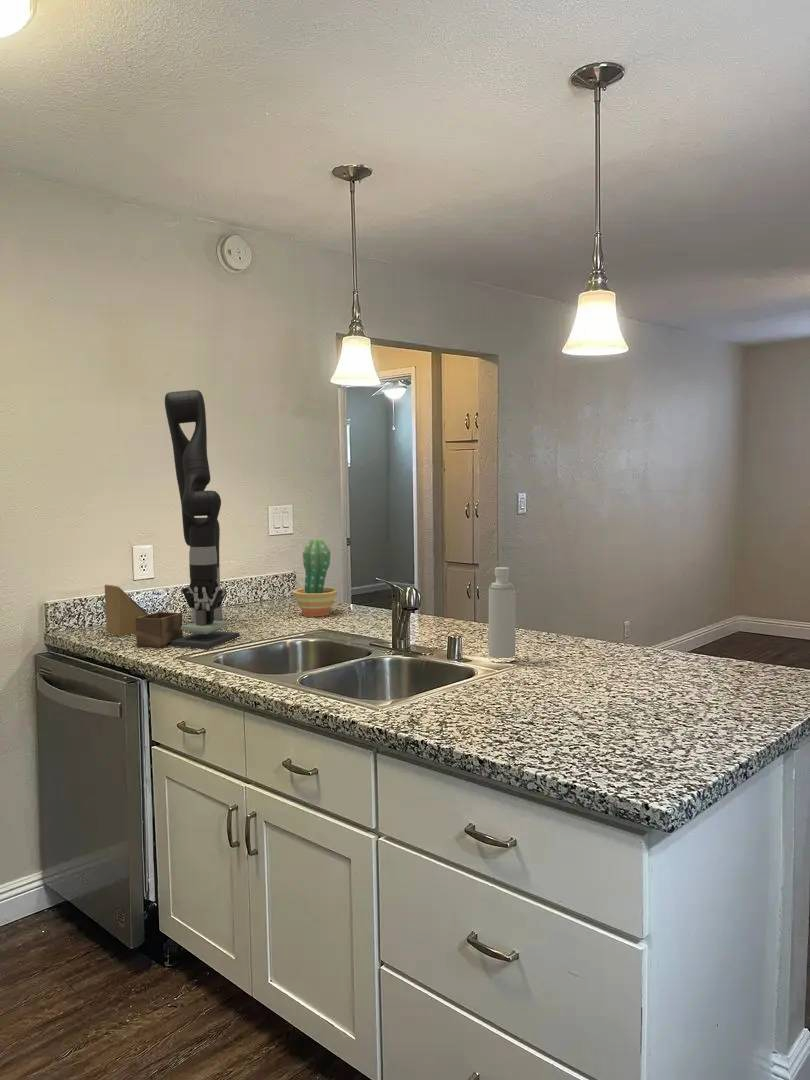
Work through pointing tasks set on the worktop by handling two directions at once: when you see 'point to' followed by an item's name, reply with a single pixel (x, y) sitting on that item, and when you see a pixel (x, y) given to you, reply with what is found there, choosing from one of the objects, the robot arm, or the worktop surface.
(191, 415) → the robot arm
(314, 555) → the potted cactus
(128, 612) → the magazine file holder
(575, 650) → the worktop surface
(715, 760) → the worktop surface
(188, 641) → the plate
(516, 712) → the worktop surface
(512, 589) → the grey bottle
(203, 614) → the lid
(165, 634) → the walnut box
